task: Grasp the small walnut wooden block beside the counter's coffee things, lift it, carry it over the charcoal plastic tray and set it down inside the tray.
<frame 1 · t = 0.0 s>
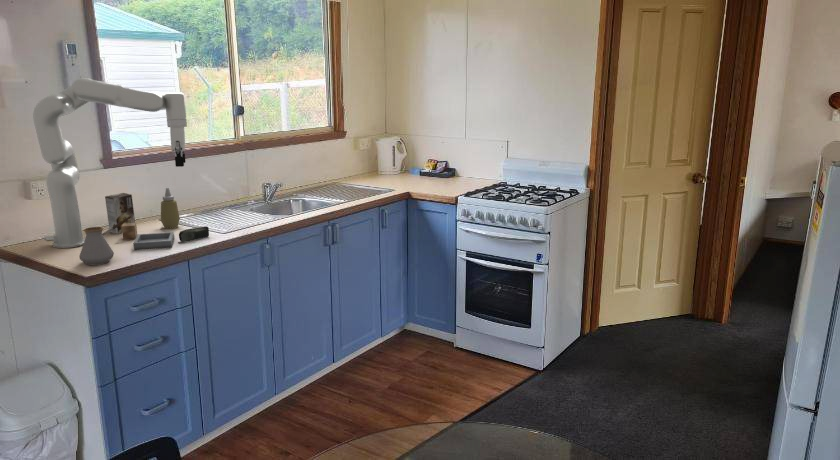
hand: (180, 164, 258), 31 cm above the table, tool pointing down, fingers open, 9 cm apart
squeeze bottle: (171, 227, 281), on the table
coffee pot: (110, 259, 234), on the table
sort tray: (154, 244, 254), on the table
walnut block: (130, 238, 263), on the table
coffee box: (122, 231, 274), on the table
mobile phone: (193, 240, 261), on the table
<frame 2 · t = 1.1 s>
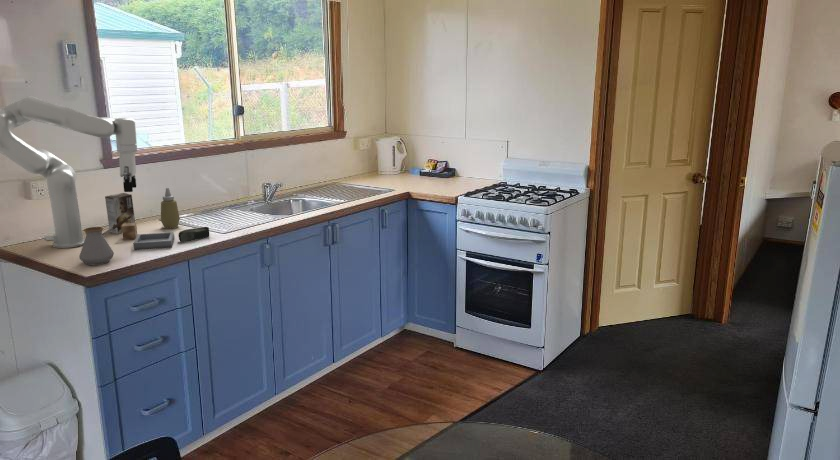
hand: (130, 189, 258), 21 cm above the table, tool pointing down, fingers open, 9 cm apart
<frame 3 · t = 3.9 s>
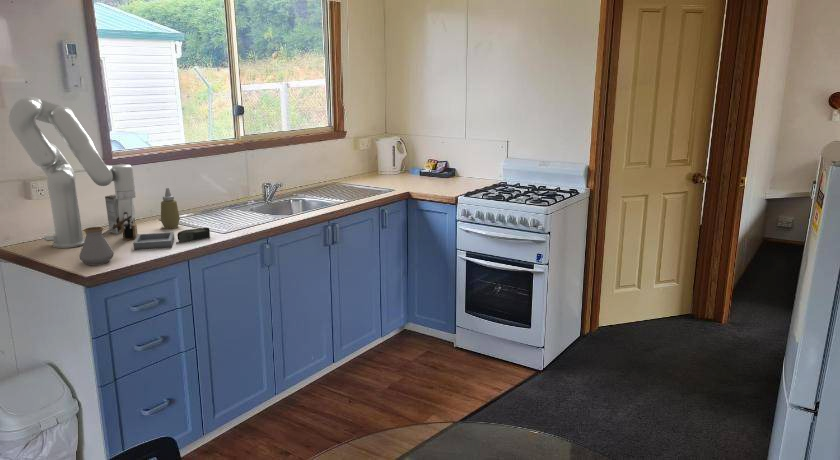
hand: (130, 235, 263), 1 cm above the table, tool pointing down, fingers closed on walnut block, 5 cm apart
walnut block: (130, 238, 263), on the table, touching gripper
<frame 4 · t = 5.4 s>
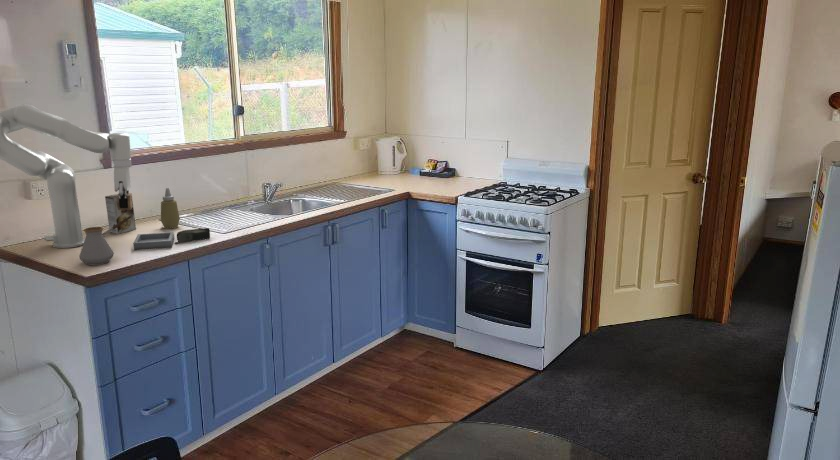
hand: (125, 206, 259), 14 cm above the table, tool pointing down, fingers closed on walnut block, 5 cm apart
walnut block: (125, 208, 259), point 13 cm above the table, touching gripper
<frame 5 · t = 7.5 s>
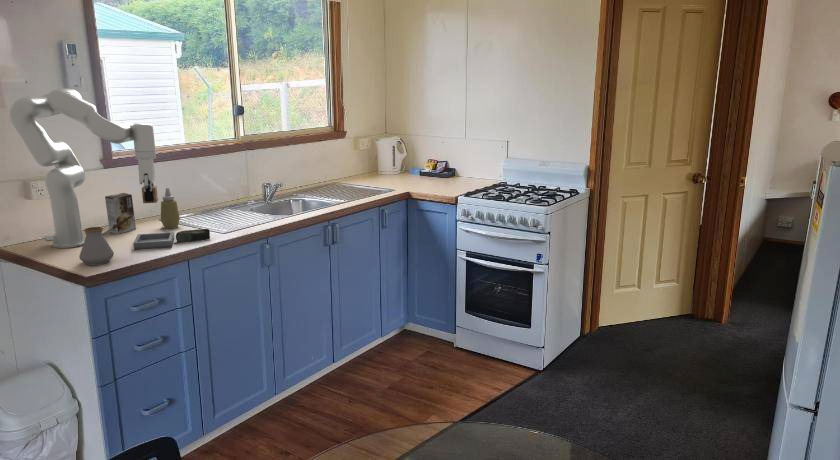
hand: (150, 199, 249), 19 cm above the table, tool pointing down, fingers closed on walnut block, 5 cm apart
walnut block: (150, 201, 249), point 18 cm above the table, touching gripper
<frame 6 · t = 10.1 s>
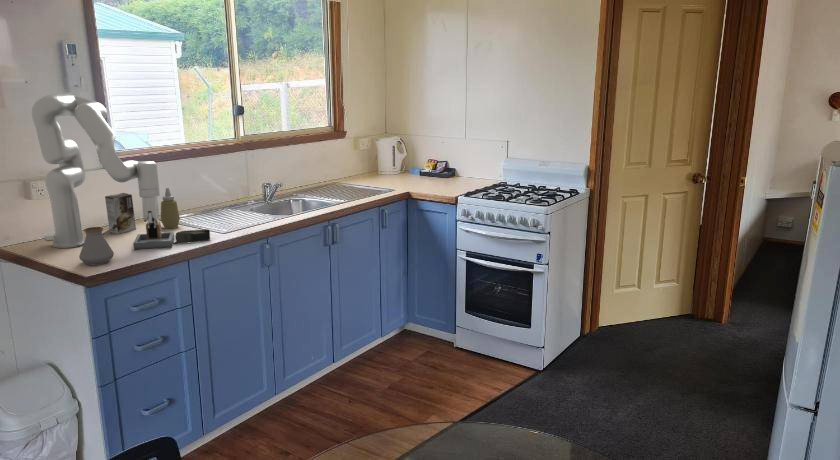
hand: (154, 235, 253), 4 cm above the table, tool pointing down, fingers closed on walnut block, 5 cm apart
walnut block: (154, 237, 253), point 3 cm above the table, touching gripper
when the fingers open (3 cm above the table, at t = 10.6 s): walnut block drops 1 cm, resting on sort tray.
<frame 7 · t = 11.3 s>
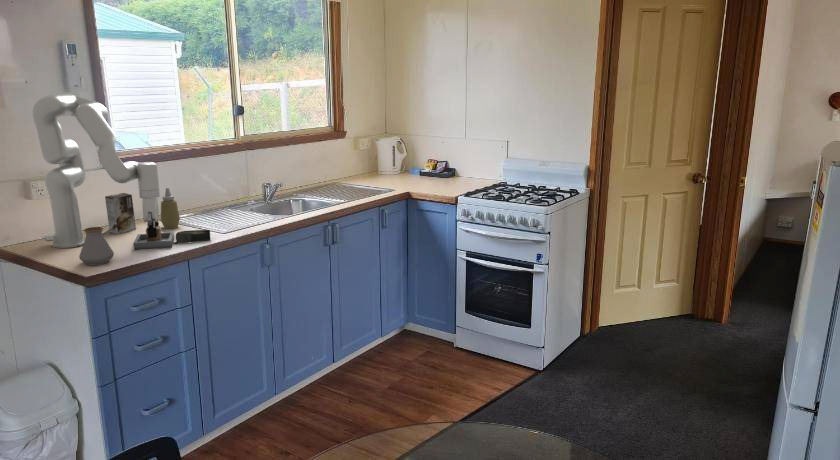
hand: (153, 234, 253), 4 cm above the table, tool pointing down, fingers open, 9 cm apart
walnut block: (154, 241, 254), point 1 cm above the table, touching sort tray
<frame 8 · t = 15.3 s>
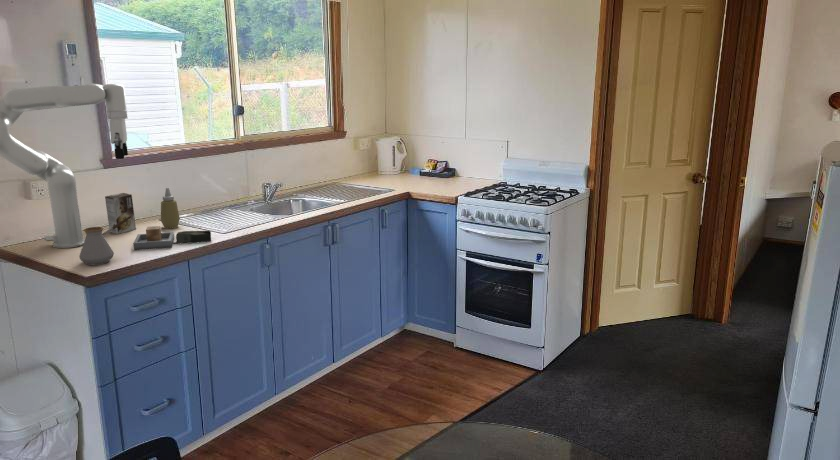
hand: (121, 157, 256), 34 cm above the table, tool pointing down, fingers open, 9 cm apart
at the end: walnut block inside the target area on the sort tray (0.2 cm from its centre), point 1.0 cm above the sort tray's base; walnut block tilted 0°; the gripper is holding nothing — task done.
